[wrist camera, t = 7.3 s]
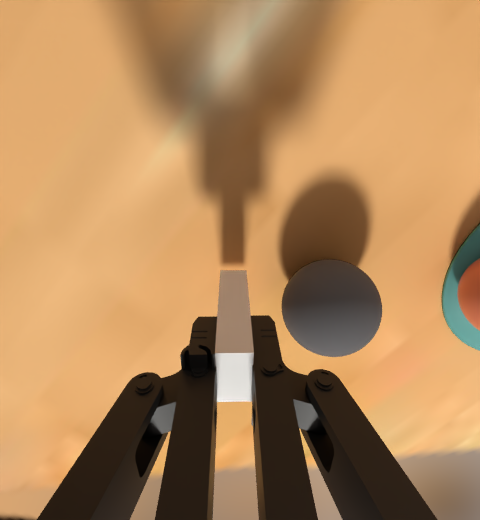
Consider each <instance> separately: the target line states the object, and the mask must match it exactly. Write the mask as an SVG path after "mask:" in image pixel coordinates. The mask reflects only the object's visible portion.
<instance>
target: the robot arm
mask: <svg viewBox="0 0 480 520" xmlns="http://www.w3.org/2000/svg"><path fill="white" fill-rule="evenodd" d="M180 356H181V366H182V369H181V370H180V371H179V372H177V373H176V374H173V375H171V376H168V377H164V378H160V377H159V375H157V374H155V373H148V372H146V373H142V374H139V375H137V376H135V377H134V378H132V379H131V380H130V382H129V383H128V384H127V385H126V387H125V388H124V390H123V391H122V393H121V394H120V396H119V397H118V399H117V400H116V402H115V403H114V405H113V406H112V408H111V409H110V411H109V412H108V414H107V415H106V417H105V418H104V420H103V421H102V423H101V424H100V426H99V427H98V429H97V430H96V432H95V433H94V435H93V436H92V438H91V439H90V441H89V442H88V444H87V445H86V447H85V448H84V450H83V451H82V453H81V454H80V456H79V457H78V459H77V460H76V462H75V463H74V465H73V466H72V468H71V469H70V471H69V472H68V474H67V475H66V477H65V478H64V480H63V481H62V483H61V484H60V486H59V487H58V489H57V490H56V492H55V493H54V495H53V496H52V498H51V499H50V501H49V502H48V504H47V505H46V507H45V508H44V510H43V511H42V513H41V514H40V516H39V517H38V519H37V520H130V517H131V515H132V513H133V511H134V509H135V506H136V504H137V502H138V499H139V497H140V495H141V493H142V491H143V488H144V486H145V484H146V482H147V479H148V477H149V475H150V473H151V470H152V468H153V466H154V464H155V461H156V459H157V457H158V455H159V452H160V450H161V448H162V446H163V443H164V441H165V439H166V437H167V434H168V432H169V431H171V434H170V439H169V445H168V450H167V456H166V461H165V467H164V472H163V478H162V484H161V489H160V495H159V500H158V506H157V511H156V517H155V520H212V518H213V495H214V472H215V448H216V425H217V402H238V401H252V425H253V436H254V451H255V467H256V482H257V498H258V513H259V520H318V518H317V513H316V508H315V503H314V499H313V494H312V489H311V484H310V479H309V474H308V469H307V465H306V460H305V455H304V450H303V445H302V440H301V435H300V431H299V428H300V429H301V432H302V434H303V436H304V438H305V440H306V442H307V444H308V447H309V449H310V451H311V453H312V455H313V457H314V459H315V461H316V464H317V466H318V468H319V470H320V472H321V474H322V476H323V478H324V481H325V483H326V485H327V487H328V489H329V491H330V493H331V496H332V498H333V500H334V502H335V504H336V506H337V508H338V510H339V513H340V515H341V517H342V519H343V520H437V518H436V517H435V515H434V514H433V513H432V511H431V510H430V508H429V507H428V505H427V504H426V503H425V501H424V500H423V498H422V497H421V495H420V494H419V492H418V491H417V490H416V488H415V487H414V485H413V484H412V482H411V481H410V480H409V478H408V477H407V475H406V474H405V472H404V471H403V470H402V468H401V467H400V465H399V464H398V462H397V461H396V459H395V458H394V457H393V455H392V454H391V452H390V451H389V449H388V448H387V447H386V445H385V444H384V442H383V441H382V439H381V438H380V436H379V435H378V434H377V432H376V431H375V429H374V428H373V426H372V425H371V424H370V422H369V421H368V419H367V418H366V416H365V415H364V414H363V412H362V411H361V409H360V408H359V406H358V405H357V403H356V402H355V401H354V399H353V398H352V396H351V395H350V393H349V392H348V391H347V389H346V388H345V386H344V385H343V383H342V382H341V381H340V379H339V378H338V377H337V376H336V375H335V374H333V373H332V372H330V371H327V370H323V369H319V370H314V371H311V372H310V373H309V374H308V376H307V375H303V374H299V373H296V372H293V371H292V370H290V369H289V368H287V367H286V366H285V364H284V363H283V361H282V357H281V352H280V347H279V342H278V337H277V332H276V327H275V322H274V321H273V320H272V318H271V317H270V316H251V315H250V304H249V293H248V282H247V271H246V270H220V283H219V298H218V314H217V317H198V318H197V319H196V320H195V322H194V323H193V327H192V333H191V339H190V344H189V346H187V347H186V348H184V349H183V350H182V352H181V355H180Z"/></svg>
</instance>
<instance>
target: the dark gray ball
mask: <svg viewBox="0 0 480 520" xmlns="http://www.w3.org/2000/svg"><path fill="white" fill-rule="evenodd" d="M282 314H283V319H284V322H285V324H286V327H287V329H288V331H289V332H290V334H291V335H292V337H293V338H294V339H295V340H296V341H297V342H298V343H299V344H300V345H302V346H303V347H304V348H306V349H307V350H309V351H311V352H313V353H316V354H319V355H322V356H328V357H340V356H346V355H349V354H352V353H354V352H357V351H358V350H360V349H362V348H363V347H364V346H366V345H367V344H368V343H369V342H370V341H371V340H372V338H373V337H374V336H375V334H376V332H377V330H378V328H379V325H380V322H381V317H382V303H381V298H380V295H379V292H378V290H377V288H376V286H375V284H374V283H373V281H372V280H371V279H370V278H369V276H368V275H367V274H366V273H364V272H363V271H362V270H361V269H359V268H358V267H356V266H354V265H352V264H350V263H347V262H344V261H340V260H333V259H327V260H319V261H315V262H312V263H310V264H308V265H306V266H304V267H302V268H301V269H300V270H298V271H297V272H296V273H295V274H294V275H293V276H292V277H291V279H290V280H289V282H288V284H287V286H286V288H285V290H284V294H283V297H282Z"/></svg>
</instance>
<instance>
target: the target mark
mask: <svg viewBox="0 0 480 520" xmlns="http://www.w3.org/2000/svg"><path fill="white" fill-rule="evenodd" d="M479 258H480V224H479V225H478V226H477V227H476V228H475V229H474V231H473V232H472V233H471V234H470V235H469V236H468V238H467V239H466V240H465V242H464V243H463V244H462V246H461V247H460V248H459V250H458V252H457V254H456V255H455V257H454V259H453V261H452V263H451V265H450V267H449V269H448V272H447V274H446V278H445V281H444V285H443V291H442V309H443V314H444V318H445V320H446V322H447V324H448V326H449V328H450V329H451V331H452V332H453V333H454V334H455V335H456V336H457V337H458V338H459V339H460V340H461V341H462V342H464V343H465V344H467V345H468V346H470V347H472V348H475V349H477V350H480V331H479V330H478V329H476V328H475V327H474V326H473V325H472V324H471V323H470V322H469V321H468V320H467V319H466V317H465V316H464V314H463V312H462V310H461V308H460V306H459V302H458V297H457V291H458V284H459V281H460V279H461V277H462V275H463V273H464V272H465V270H466V269H467V268H468V267H469V266H470V265H471V264H472V263H473V262H475V261H476V260H478V259H479Z"/></svg>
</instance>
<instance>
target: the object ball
mask: <svg viewBox="0 0 480 520" xmlns="http://www.w3.org/2000/svg"><path fill="white" fill-rule="evenodd" d="M457 297H458V302H459V306H460V308H461V310H462V312H463V314H464V316H465V317H466V319H467V320H468V321H469V322H470V323H471V324H472V325H473V326H474V327H475V328H476V329H478V330H479V331H480V258H479V259H478V260H476V261H475V262H473V263H472V264H471V265H470V266H469V267H468V268H467V269H466V270H465V272H464V273H463V275H462V277H461V279H460V281H459V284H458V291H457Z"/></svg>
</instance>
